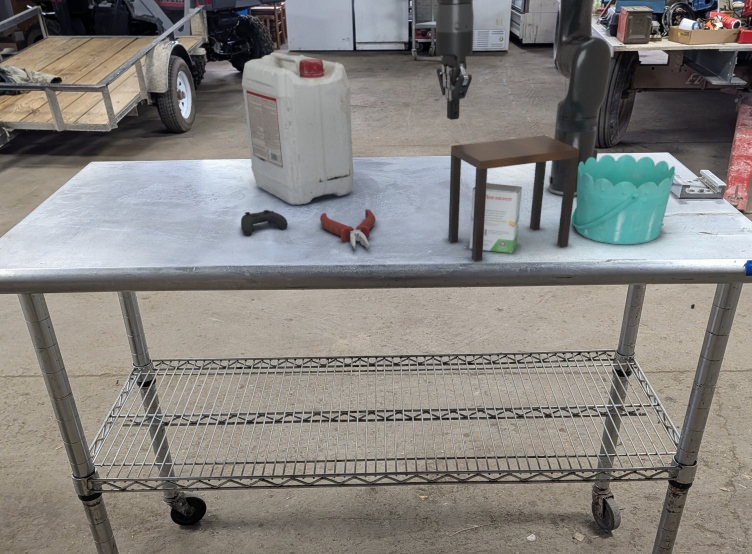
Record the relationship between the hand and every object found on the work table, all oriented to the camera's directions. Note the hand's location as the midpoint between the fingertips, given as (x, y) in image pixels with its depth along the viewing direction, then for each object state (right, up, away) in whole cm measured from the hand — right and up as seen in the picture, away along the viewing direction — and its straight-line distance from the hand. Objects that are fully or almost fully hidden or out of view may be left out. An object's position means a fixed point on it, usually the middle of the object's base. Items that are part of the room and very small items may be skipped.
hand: (452, 118), depth 153 cm
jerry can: (-34, -10, +21) cm, 42 cm away
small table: (+10, -29, -12) cm, 33 cm away
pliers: (-23, -26, -6) cm, 35 cm away
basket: (+33, -25, -6) cm, 42 cm away
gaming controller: (-40, -24, -2) cm, 47 cm away
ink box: (+7, -30, -13) cm, 34 cm away
